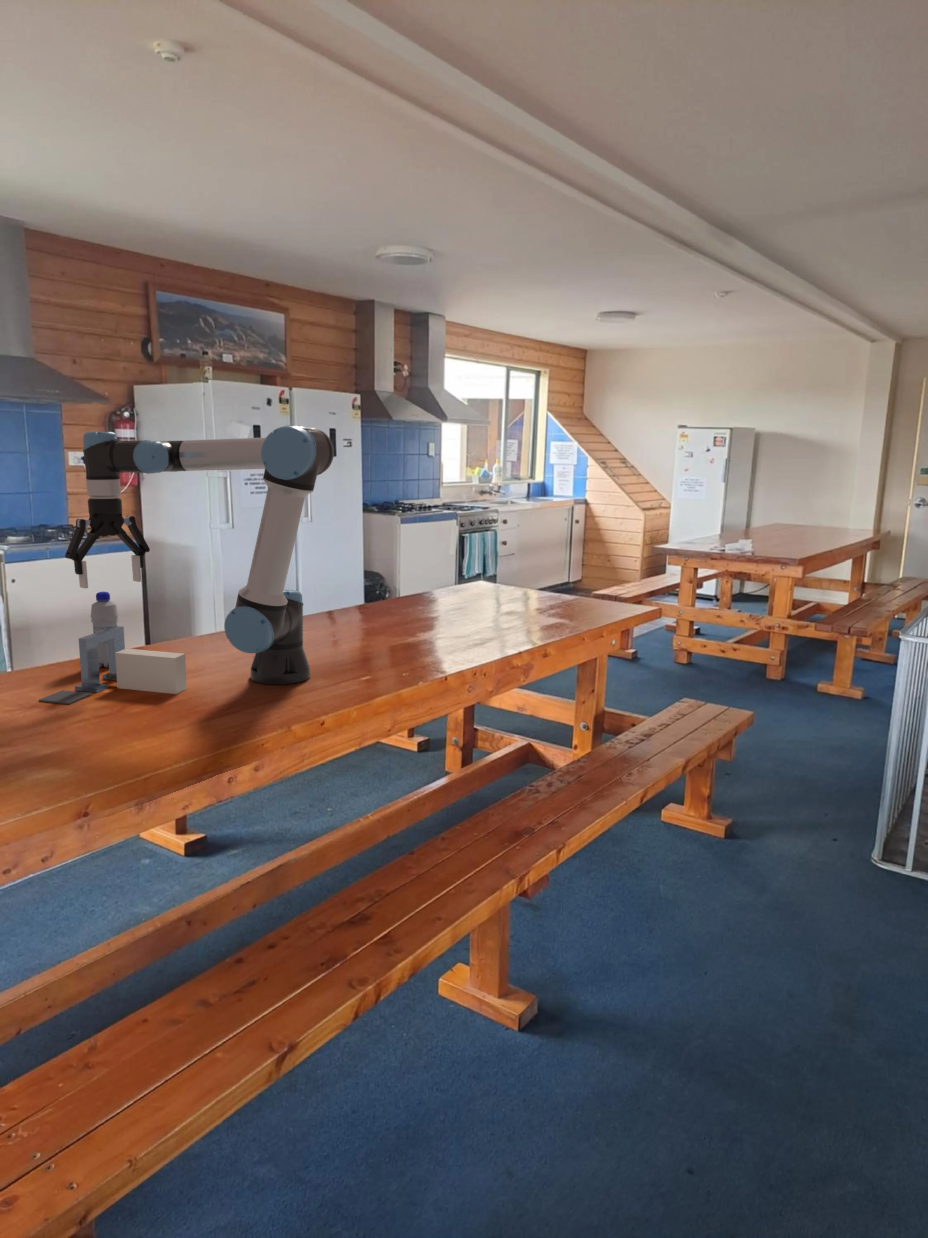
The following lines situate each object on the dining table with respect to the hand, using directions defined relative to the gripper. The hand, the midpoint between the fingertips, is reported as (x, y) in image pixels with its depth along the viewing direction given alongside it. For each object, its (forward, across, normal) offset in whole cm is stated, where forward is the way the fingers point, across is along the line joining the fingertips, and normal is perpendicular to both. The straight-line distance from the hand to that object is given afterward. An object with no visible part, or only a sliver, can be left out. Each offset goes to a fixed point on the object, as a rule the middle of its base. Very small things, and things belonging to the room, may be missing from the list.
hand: (111, 584), depth 206 cm
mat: (+24, +16, +6) cm, 30 cm away
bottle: (+24, -5, -15) cm, 29 cm away
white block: (+25, -1, +11) cm, 27 cm away
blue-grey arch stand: (+24, +4, +1) cm, 25 cm away
